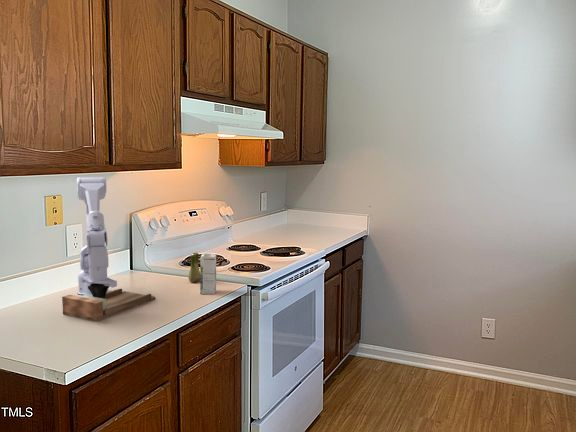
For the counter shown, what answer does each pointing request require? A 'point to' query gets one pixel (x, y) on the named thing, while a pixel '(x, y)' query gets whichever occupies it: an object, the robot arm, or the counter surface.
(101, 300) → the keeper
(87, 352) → the counter surface
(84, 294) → the robot arm
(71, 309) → the track
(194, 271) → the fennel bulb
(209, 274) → the syrup box
